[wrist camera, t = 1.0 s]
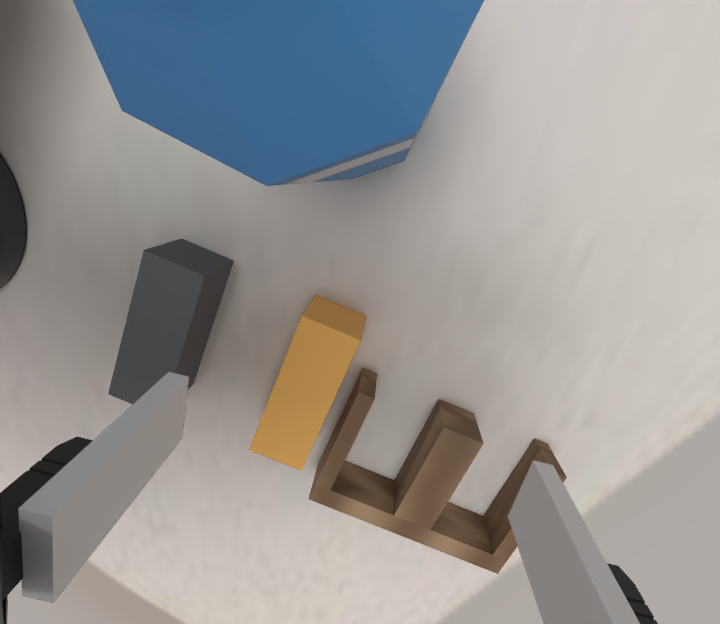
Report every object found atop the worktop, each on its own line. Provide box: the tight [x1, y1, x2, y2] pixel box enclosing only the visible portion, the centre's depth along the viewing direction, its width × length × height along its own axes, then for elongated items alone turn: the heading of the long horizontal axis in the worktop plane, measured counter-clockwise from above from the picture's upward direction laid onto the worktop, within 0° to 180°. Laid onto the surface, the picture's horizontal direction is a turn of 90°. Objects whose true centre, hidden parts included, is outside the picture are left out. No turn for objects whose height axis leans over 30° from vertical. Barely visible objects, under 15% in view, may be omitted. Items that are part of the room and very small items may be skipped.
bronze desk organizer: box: [309, 368, 567, 574], centre depth 32 cm, size 16×10×4 cm, turn 68°
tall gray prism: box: [108, 239, 233, 404], centre depth 30 cm, size 4×11×5 cm, turn 157°
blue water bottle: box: [73, 0, 484, 186], centre depth 15 cm, size 9×9×25 cm
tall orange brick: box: [249, 295, 366, 471], centre depth 31 cm, size 4×11×5 cm, turn 157°
